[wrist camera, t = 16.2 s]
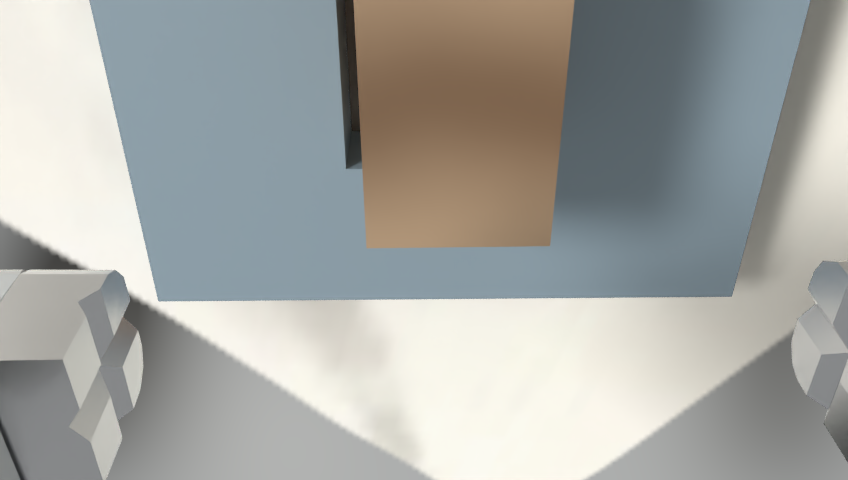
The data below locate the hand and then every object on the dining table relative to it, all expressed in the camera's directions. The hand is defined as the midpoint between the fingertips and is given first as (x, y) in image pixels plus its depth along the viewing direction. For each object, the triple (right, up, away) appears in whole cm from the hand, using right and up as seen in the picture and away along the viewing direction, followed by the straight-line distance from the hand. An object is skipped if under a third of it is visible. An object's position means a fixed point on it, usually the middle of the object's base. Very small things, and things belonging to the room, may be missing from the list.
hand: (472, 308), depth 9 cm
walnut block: (0, +8, +13) cm, 15 cm away
